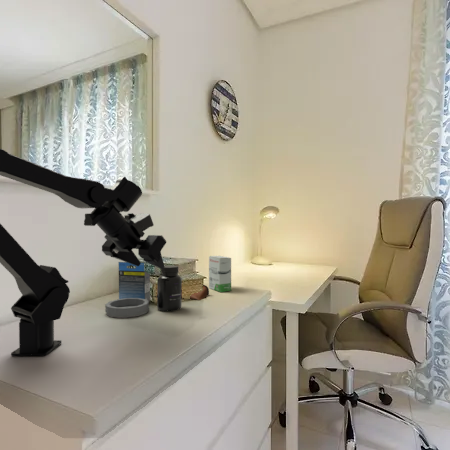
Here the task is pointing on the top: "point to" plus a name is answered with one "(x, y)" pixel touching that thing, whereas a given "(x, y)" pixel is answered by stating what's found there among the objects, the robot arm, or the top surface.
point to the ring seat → (127, 307)
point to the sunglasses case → (200, 294)
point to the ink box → (220, 273)
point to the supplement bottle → (169, 289)
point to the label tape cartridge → (133, 282)
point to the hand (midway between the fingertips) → (150, 266)
